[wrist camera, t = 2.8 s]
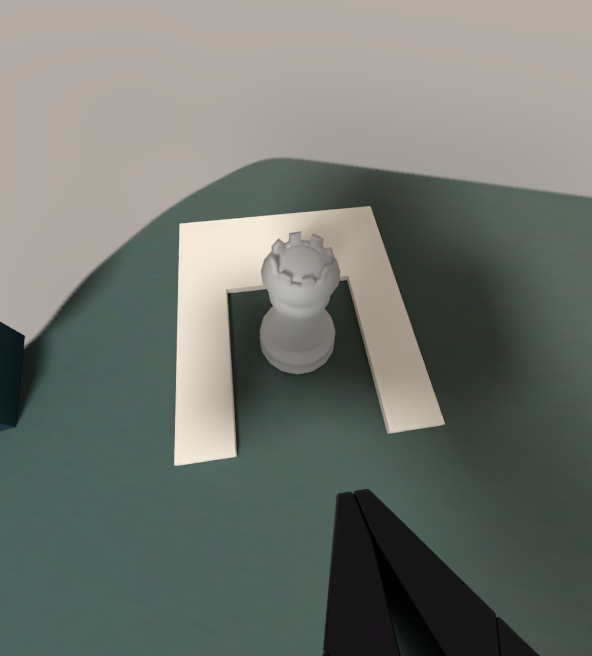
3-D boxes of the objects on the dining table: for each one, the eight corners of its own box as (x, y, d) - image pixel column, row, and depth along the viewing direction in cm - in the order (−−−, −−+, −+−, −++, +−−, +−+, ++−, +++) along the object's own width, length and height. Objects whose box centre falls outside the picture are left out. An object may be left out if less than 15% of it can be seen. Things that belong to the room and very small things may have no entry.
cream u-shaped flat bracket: (441, 425, 17) (445, 423, 17) (177, 465, 16) (174, 465, 16) (368, 211, 24) (370, 206, 24) (181, 228, 23) (179, 223, 23)
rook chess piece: (349, 341, 19) (383, 257, 12) (297, 392, 18) (302, 330, 11) (296, 297, 21) (300, 197, 14) (244, 341, 19) (218, 255, 12)
